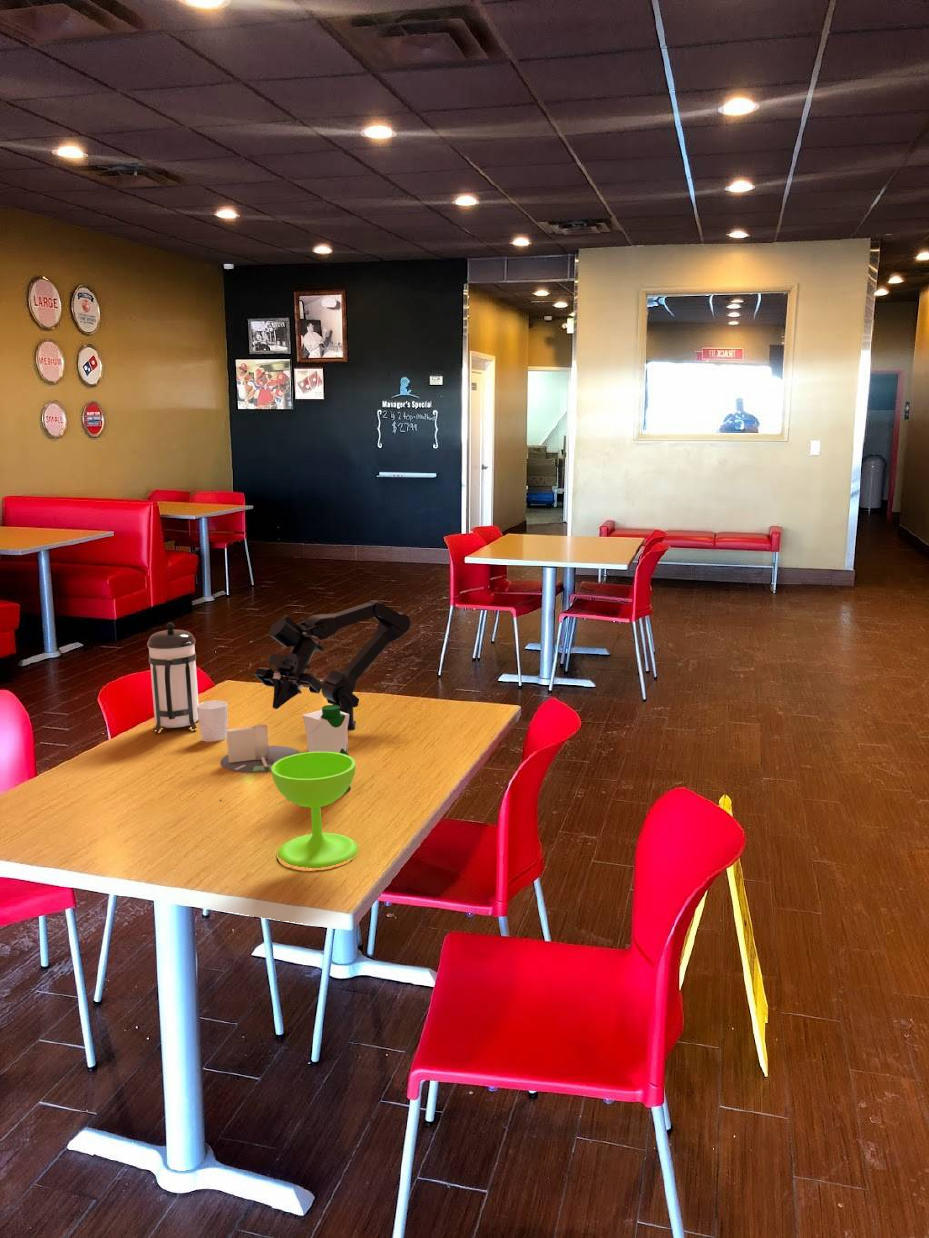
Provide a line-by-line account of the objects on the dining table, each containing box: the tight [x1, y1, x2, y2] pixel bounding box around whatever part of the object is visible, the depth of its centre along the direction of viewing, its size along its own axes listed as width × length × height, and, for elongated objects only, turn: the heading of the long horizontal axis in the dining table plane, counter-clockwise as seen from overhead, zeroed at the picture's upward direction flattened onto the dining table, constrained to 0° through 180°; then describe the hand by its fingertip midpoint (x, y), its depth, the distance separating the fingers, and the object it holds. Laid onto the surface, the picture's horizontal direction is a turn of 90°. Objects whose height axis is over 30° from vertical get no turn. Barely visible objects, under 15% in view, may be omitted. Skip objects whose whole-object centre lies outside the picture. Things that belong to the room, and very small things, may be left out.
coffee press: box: [146, 622, 199, 731], centre depth 265 cm, size 17×16×30 cm
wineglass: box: [270, 751, 359, 868], centre depth 185 cm, size 16×16×18 cm
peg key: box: [226, 724, 269, 770], centre depth 233 cm, size 10×12×8 cm
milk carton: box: [301, 704, 352, 791], centre depth 218 cm, size 9×9×20 cm
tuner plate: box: [219, 745, 302, 774], centre depth 239 cm, size 20×20×1 cm
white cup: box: [197, 699, 229, 742], centre depth 256 cm, size 8×8×10 cm
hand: (274, 708), depth 247 cm, fingers closed
